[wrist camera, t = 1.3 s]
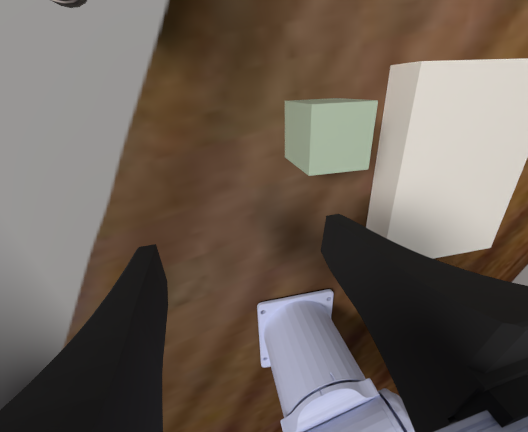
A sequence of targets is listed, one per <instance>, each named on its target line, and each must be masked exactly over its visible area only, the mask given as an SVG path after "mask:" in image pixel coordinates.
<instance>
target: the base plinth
mask: <svg viewBox="0 0 528 432" xmlns="http://www.w3.org/2000/svg"><path fill="white" fill-rule="evenodd" d="M527 157H528V59H490V60H452V61H420V62H413V63H405V64H398V65H391V67H390V73H389V80H388V86H387V93H386V99H385V106H384V113H383V119H382V126H381V132H380V139H379V145H378V152H377V159H376V165H375V172H374V178H373V185H372V191H371V198H370V204H369V211H368V218H367V224H366V228H368V229H369V230H371V231H373V232H375V233H377V234H379V235H381V236H383V237H385V238H387V239H389V240H391V241H393V242H395V243H397V244H399V245H401V246H403V247H406V248H408V249H410V250H412V251H415V252H417V253H419V254H422V255H424V256H427V257H429V258H432V259H433V258H438V257H444V256H449V255H455V254H460V253H465V252H471V251H476V250H481V249H487V248H491V246H492V243H493V241H494V238H495V236H496V233H497V231H498V228H499V226H500V223H501V221H502V219H503V216H504V214H505V211H506V209H507V206H508V204H509V201H510V199H511V196H512V194H513V192H514V189H515V187H516V184H517V182H518V179H519V177H520V174H521V172H522V169H523V167H524V165H525V162H526V160H527Z"/></svg>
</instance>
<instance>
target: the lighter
mask: <svg viewBox="0 0 528 432" xmlns="http://www.w3.org/2000/svg"><path fill="white" fill-rule="evenodd" d="M51 1H53V2H55V3H57V4H59V5H61V6H65V7H69V8H73V7H80V6H81V5H83V4H85V3H86V2H87V0H51Z"/></svg>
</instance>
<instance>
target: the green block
mask: <svg viewBox="0 0 528 432" xmlns="http://www.w3.org/2000/svg"><path fill="white" fill-rule="evenodd" d="M377 104H378V101H377V100H359V99H342V98H332V99H312V100H293V101H285V158H287V159H288V160H289V161H290V162H292V163H293V164H294V165H296V166H297V167H298V168H299V169H301V170H302V171H303V172H305V173H306V174H307V175H309V176H311V175H321V174H330V173H339V172H348V171H357V170H367V169H368V168H369V161H370V154H371V147H372V140H373V133H374V125H375V118H376V111H377Z"/></svg>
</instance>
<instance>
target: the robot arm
mask: <svg viewBox="0 0 528 432" xmlns="http://www.w3.org/2000/svg"><path fill="white" fill-rule="evenodd" d="M321 252H322V254H323V256H324V259H325V261H326V263H327V265H328V267H329V269H330V270H331V272H332V274H333V275H334V277H335V278H336V280H337V281H338V283H339V284H340V286H341V287H342V289H343V290H344V292H345V293H346V295H347V296H348V298H349V299H350V300H351V302H352V303H353V305H354V306H355V308H356V309H357V311H358V313H359V314H360V316H361V317H362V319H363V321H364V323H365V325H366V326H367V328H368V330H369V332H370V334H371V336H372V338H373V340H374V342H375V344H376V346H377V348H378V350H379V352H380V354H381V356H382V358H383V360H384V362H385V364H386V366H387V368H388V370H389V372H390V374H391V377H392V379H393V381H394V383H395V385H396V387H397V390H398V392H399V394H400V397H401V398H400V397H399V396H398V395H397V394H395V393H393V392H390V391H389V390H388V389H382V390H380V391H377V389H376V388H375V386H374V384H373V383H372V381H371V379H370V378H368V379H366V378H365V377H364V375H363V373H362V372H361V370H360V368H359V366H358V365H357V363H356V361H355V359H354V358H353V356H352V354H351V353H350V351H349V349H348V347H347V346H346V344H345V342H344V340H343V339H342V337H341V335H340V334H339V332H338V330H337V328H336V327H335V325H334V323H333V322H332V320H331V314H332V304H333V295H334V294H333V291H332V290H330V289H327V290H322V291H317V292H312V293H307V294H301V295H296V296H291V297H286V298H281V299H276V300H271V301H265V302H261V303H259V304H258V305H257V313H258V328H259V342H260V357H261V366H262V367H269V366H271V369H272V372H273V376H274V380H275V384H276V388H277V392H278V395H279V399H280V403H281V407H282V411H283V415H284V419H282V420H281V426H282V430H283V432H528V286H525V285H520V284H516V283H511V282H507V281H503V280H499V279H495V278H492V277H488V276H484V275H480V274H477V273H473V272H470V271H467V270H464V269H461V268H458V267H454V266H451V265H448V264H445V263H443V262H440V261H437V260H434V259H432V258H429V257H427V256H424V255H422V254H419V253H417V252H415V251H412V250H410V249H408V248H406V247H403V246H401V245H399V244H397V243H395V242H393V241H391V240H389V239H387V238H385V237H383V236H381V235H379V234H377V233H375V232H373V231H371V230H369V229H368V228H366V227H364V226H362V225H360V224H358V223H356V222H354V221H353V220H351V219H349V218H347V217H345V216H343V215H340V214H335V215H329V216H326V222H325V228H324V234H323V240H322V246H321ZM328 297H329V298H328ZM167 310H168V291H167V279H166V276H165V273H164V269H163V266H162V263H161V259H160V256H159V253H158V250H157V246H156V244H155V245H149V246H143V247H139V248H138V249H137V250H136V252H135V253H134V255H133V257H132V258H131V260H130V262H129V263H128V265H127V267H126V268H125V270H124V271H123V273H122V274H121V276H120V277H119V279H118V280H117V282H116V283H115V285H114V286H113V288H112V289H111V291H110V292H109V293H108V295H107V296H106V298H105V299H104V300H103V302H102V303H101V304H100V306H99V307H98V308H97V310H96V311H95V312H94V313H93V315H92V316H91V317H90V319H89V320H88V321H87V322H86V323H85V325H84V326H83V327H82V328H81V329H80V331H79V332H78V333H77V334H76V335H75V336H74V337H73V339H72V340H71V341H70V342H69V343H68V344H67V345H66V346H65V347H64V349H63V350H62V351H61V352H60V353H59V354H58V355H57V356H56V357H55V358H54V359H53V360H52V361H51V362H50V363H49V364H48V365H47V366H46V367H45V368H44V369H43V370H42V371H41V372H40V373H39V374H38V375H37V376H36V377H35V378H34V379H33V380H32V381H31V382H30V383H29V384H28V385H27V386H26V387H25V388H24V389H23V390H22V391H21V392H20V393H18V394H17V395H16V396H15V397H14V398H13V399H12V400H11V401H10V402H9V403H8V404H6V405H5V406H4V407H3V408H2V409H1V410H0V432H163V416H162V367H163V354H164V343H165V332H166V321H167ZM262 310H264V311H262ZM378 392H379V393H378Z"/></svg>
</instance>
